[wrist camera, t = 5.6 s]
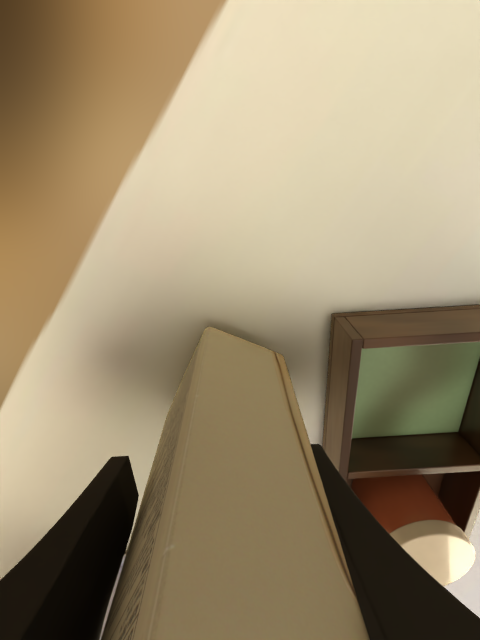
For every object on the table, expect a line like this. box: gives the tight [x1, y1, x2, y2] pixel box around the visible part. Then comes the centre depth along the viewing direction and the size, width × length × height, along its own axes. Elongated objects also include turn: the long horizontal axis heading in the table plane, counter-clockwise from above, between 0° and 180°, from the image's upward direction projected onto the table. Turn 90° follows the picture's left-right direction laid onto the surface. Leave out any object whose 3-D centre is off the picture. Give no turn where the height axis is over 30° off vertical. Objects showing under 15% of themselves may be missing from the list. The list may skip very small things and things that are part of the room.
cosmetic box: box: [101, 327, 370, 640], centre depth 11 cm, size 6×4×12 cm
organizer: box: [323, 305, 480, 539], centre depth 18 cm, size 8×16×3 cm, turn 3°
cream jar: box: [351, 474, 475, 586], centre depth 18 cm, size 5×5×5 cm
